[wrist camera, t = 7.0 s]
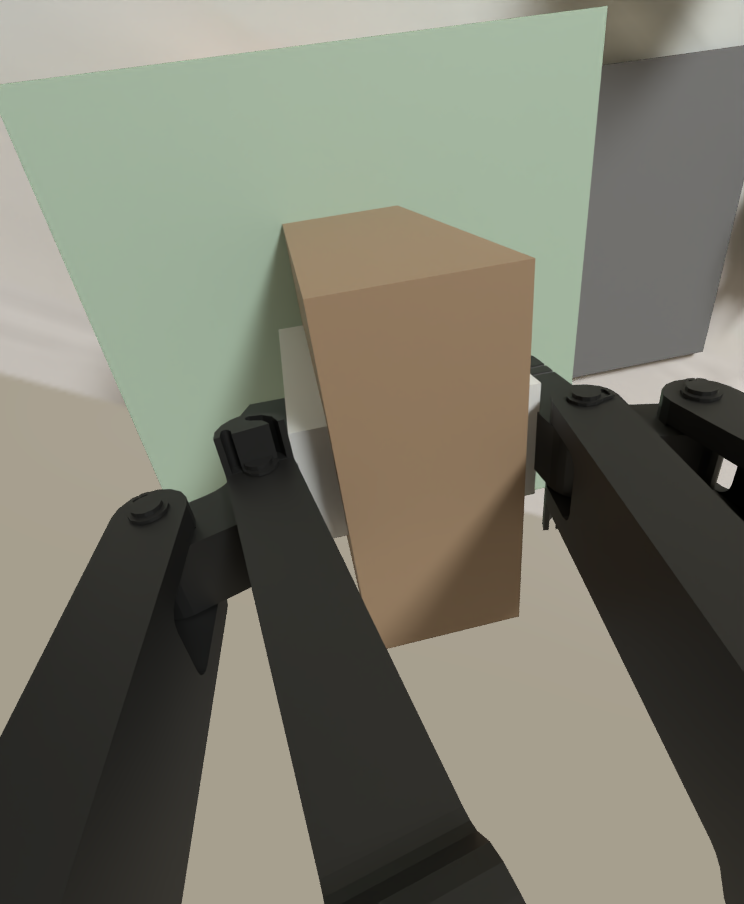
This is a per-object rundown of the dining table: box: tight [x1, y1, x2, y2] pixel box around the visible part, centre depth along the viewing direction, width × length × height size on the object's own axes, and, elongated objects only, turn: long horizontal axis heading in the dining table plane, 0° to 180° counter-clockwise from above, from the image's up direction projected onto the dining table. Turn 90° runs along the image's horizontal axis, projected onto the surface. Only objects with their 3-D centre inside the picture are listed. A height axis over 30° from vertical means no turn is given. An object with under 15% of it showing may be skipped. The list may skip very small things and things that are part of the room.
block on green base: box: [0, 6, 608, 649], centre depth 14 cm, size 16×16×10 cm
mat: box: [572, 45, 744, 378], centre depth 33 cm, size 19×19×1 cm
